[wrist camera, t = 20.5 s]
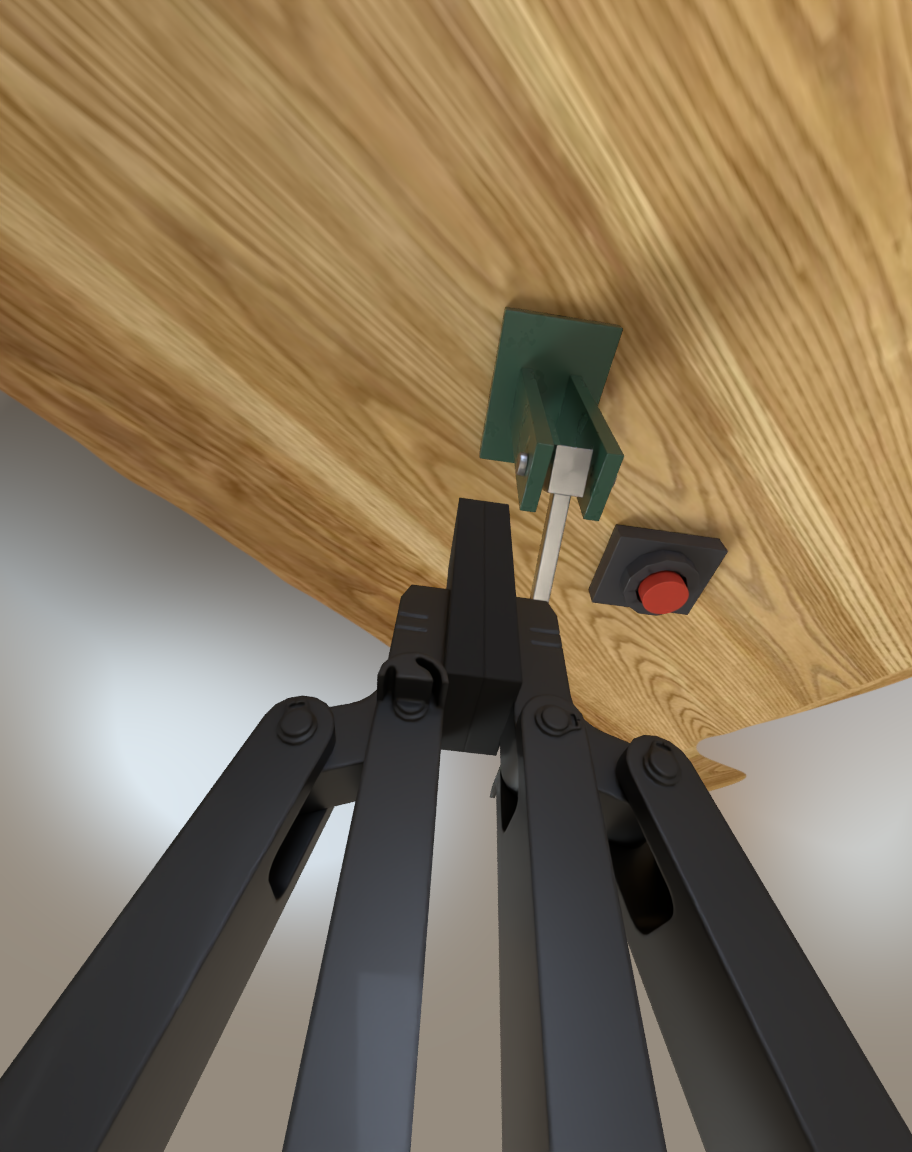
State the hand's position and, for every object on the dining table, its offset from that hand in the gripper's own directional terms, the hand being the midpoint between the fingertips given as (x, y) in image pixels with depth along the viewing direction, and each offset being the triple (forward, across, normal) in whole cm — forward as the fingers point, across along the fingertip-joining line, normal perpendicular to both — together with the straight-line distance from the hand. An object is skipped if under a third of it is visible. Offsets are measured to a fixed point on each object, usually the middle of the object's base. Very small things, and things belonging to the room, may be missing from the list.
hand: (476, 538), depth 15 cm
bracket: (+28, +6, -4) cm, 29 cm away
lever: (+13, +6, -11) cm, 18 cm away
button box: (+28, +22, -20) cm, 41 cm away
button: (+25, +22, -20) cm, 39 cm away
